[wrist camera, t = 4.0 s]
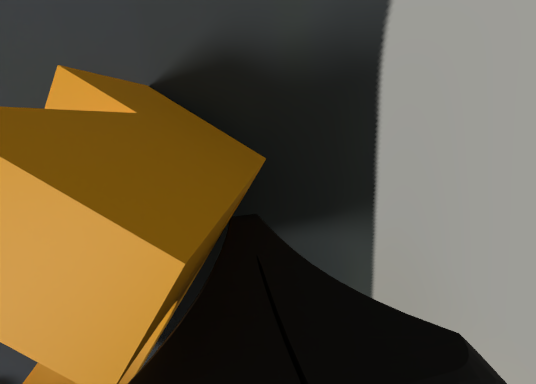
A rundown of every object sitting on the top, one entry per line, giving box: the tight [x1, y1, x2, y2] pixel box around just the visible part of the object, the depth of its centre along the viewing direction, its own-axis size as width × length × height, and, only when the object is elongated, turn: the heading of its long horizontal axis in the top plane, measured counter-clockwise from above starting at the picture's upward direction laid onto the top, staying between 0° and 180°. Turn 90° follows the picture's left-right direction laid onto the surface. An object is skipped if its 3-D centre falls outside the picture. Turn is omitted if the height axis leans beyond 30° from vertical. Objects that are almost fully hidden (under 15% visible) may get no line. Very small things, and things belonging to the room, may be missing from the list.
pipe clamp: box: [0, 65, 266, 384], centre depth 7 cm, size 12×4×6 cm, turn 148°
